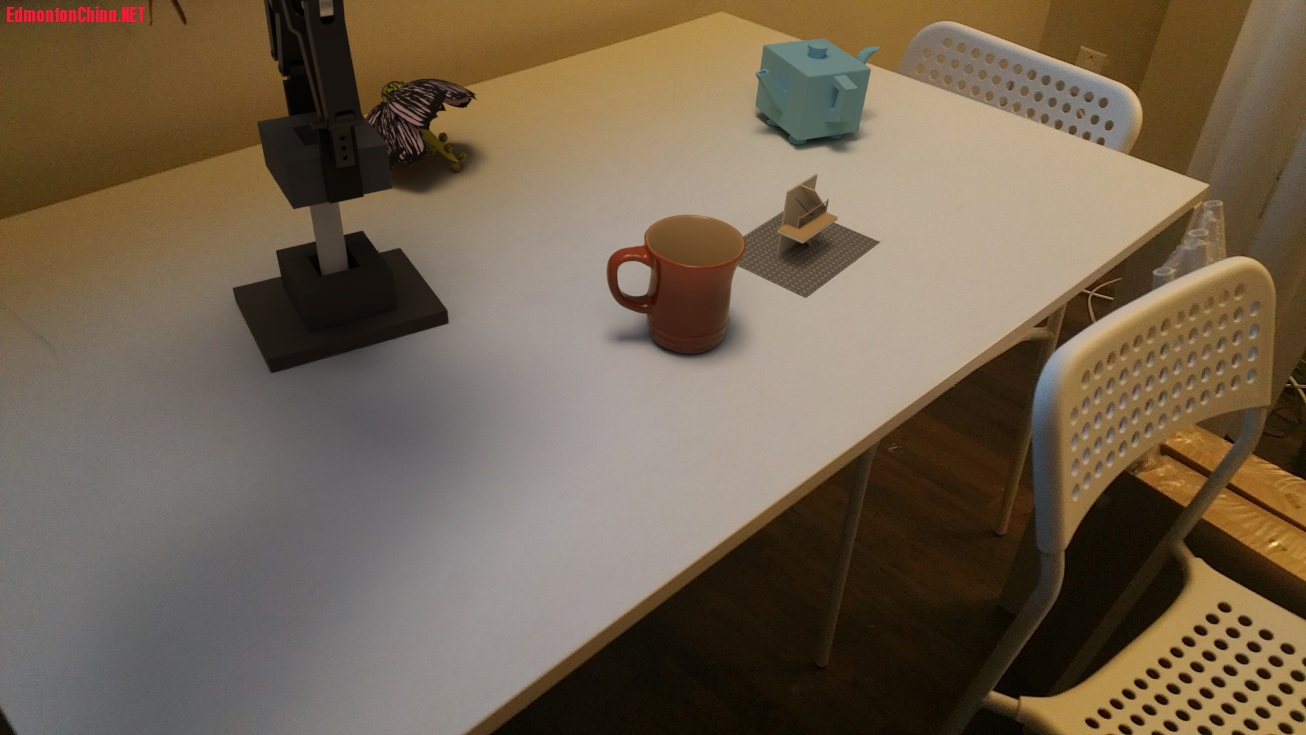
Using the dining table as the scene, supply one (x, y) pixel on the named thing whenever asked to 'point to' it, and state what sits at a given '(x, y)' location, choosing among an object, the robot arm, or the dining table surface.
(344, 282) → the dark block with hole
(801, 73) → the teapot
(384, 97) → the decorative flower
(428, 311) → the base pad
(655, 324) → the mug
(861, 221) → the dining table surface
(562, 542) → the dining table surface
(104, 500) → the dining table surface
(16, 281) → the dining table surface
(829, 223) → the architectural model
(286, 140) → the grey square-holed block
